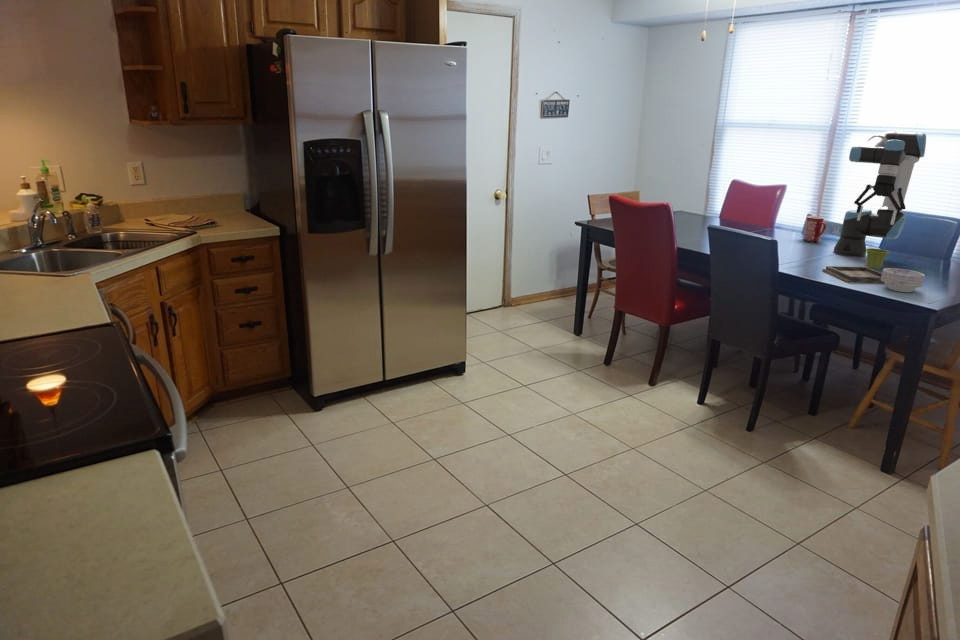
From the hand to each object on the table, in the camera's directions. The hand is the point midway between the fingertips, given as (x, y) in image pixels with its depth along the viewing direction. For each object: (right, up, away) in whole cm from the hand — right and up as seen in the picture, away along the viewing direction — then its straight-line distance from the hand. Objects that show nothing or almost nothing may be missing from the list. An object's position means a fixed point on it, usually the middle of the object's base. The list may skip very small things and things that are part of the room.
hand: (874, 222), depth 291 cm
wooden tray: (-9, -25, -2) cm, 27 cm away
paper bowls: (-2, -32, -20) cm, 38 cm away
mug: (+11, +1, +75) cm, 76 cm away
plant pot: (+9, -20, +16) cm, 27 cm away
